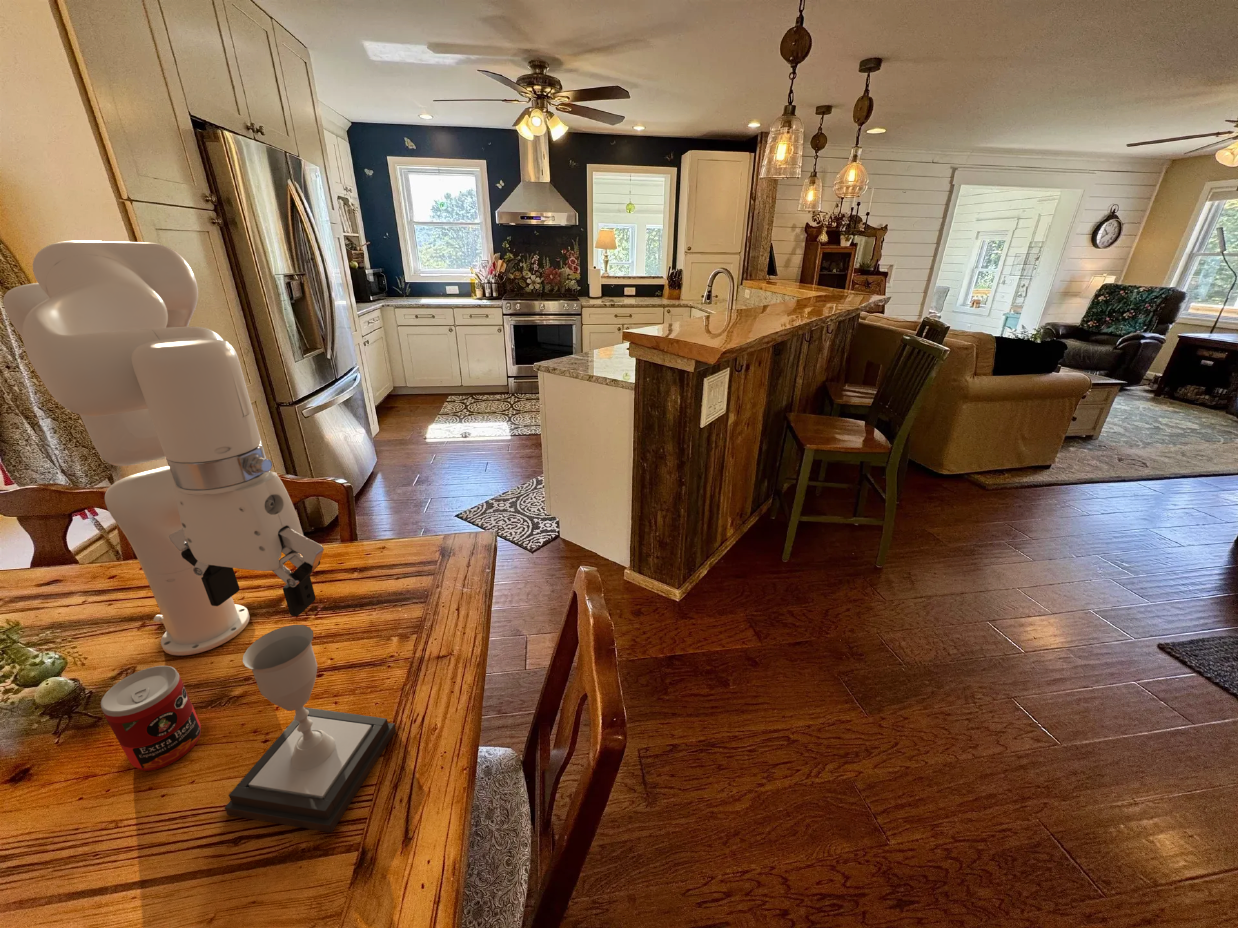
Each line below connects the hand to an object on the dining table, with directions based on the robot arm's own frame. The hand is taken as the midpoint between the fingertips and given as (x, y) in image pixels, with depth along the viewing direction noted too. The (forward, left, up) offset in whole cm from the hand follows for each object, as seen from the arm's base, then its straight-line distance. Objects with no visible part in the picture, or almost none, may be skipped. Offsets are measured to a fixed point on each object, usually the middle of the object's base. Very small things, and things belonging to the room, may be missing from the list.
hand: (264, 603), depth 56 cm
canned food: (-23, 0, -27) cm, 35 cm away
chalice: (0, 0, -24) cm, 24 cm away
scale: (0, 0, -27) cm, 27 cm away
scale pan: (0, 0, -26) cm, 26 cm away
